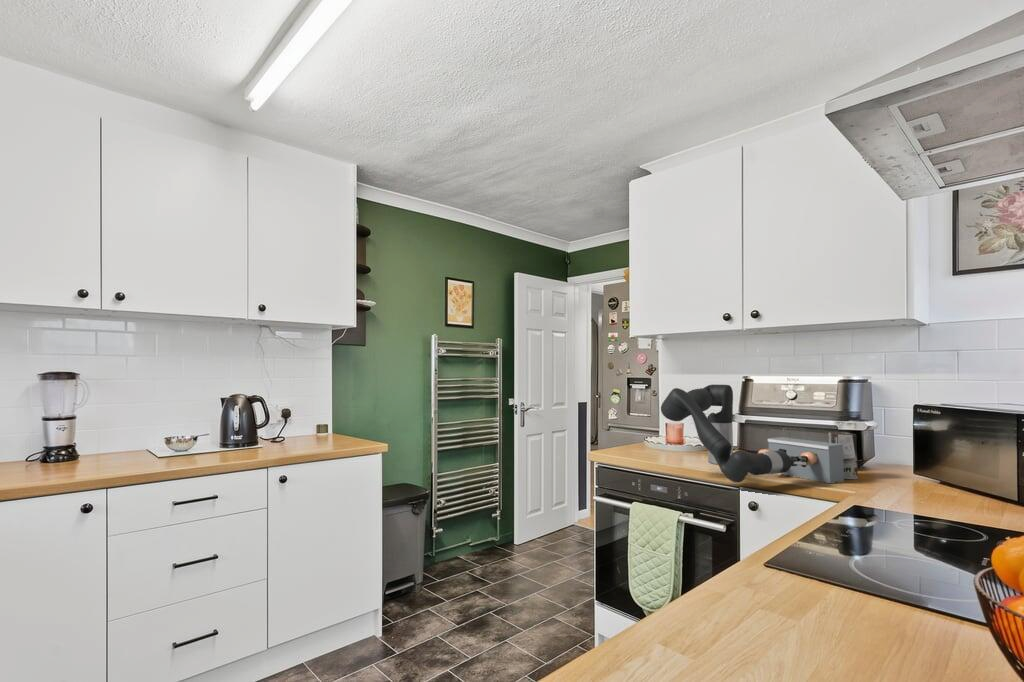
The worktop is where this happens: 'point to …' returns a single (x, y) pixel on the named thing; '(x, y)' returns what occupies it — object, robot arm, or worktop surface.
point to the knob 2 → (810, 458)
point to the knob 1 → (767, 451)
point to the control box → (827, 458)
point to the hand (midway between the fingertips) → (805, 458)
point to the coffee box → (847, 452)
